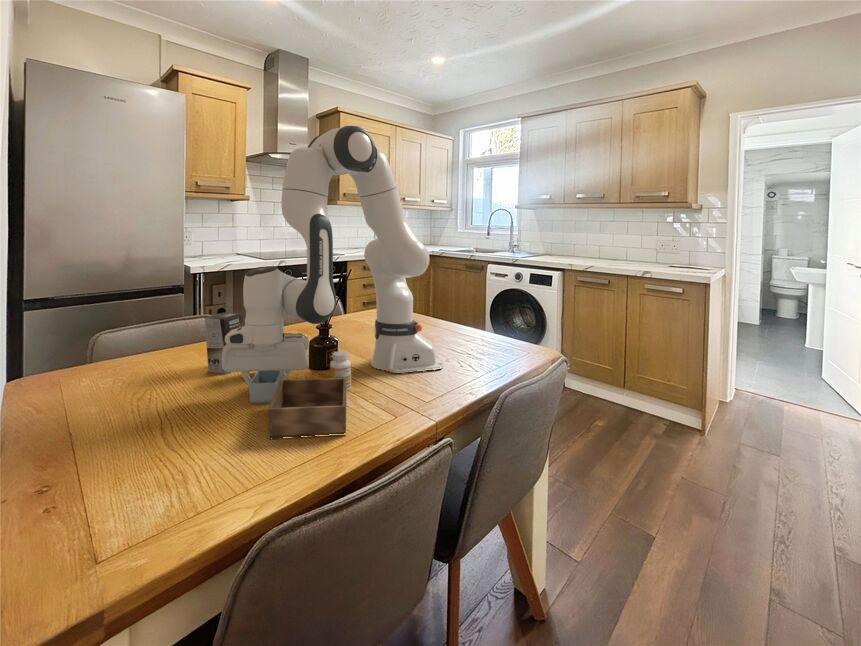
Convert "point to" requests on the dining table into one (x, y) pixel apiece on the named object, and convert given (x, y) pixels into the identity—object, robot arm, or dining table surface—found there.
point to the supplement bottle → (341, 367)
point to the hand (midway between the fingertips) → (267, 386)
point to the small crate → (264, 386)
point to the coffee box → (219, 337)
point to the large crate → (308, 408)
